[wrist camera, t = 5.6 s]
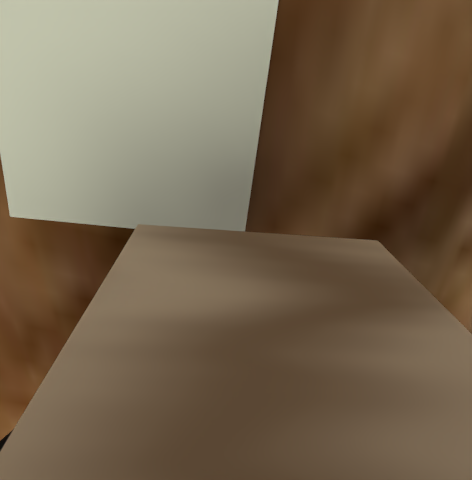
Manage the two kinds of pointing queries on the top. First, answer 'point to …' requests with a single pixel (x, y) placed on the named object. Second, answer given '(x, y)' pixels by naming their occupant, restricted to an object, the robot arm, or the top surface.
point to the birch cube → (253, 368)
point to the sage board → (133, 109)
